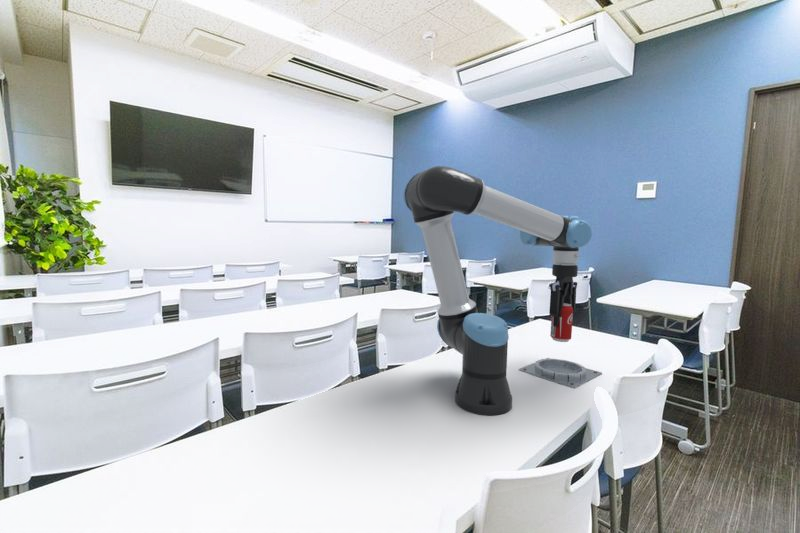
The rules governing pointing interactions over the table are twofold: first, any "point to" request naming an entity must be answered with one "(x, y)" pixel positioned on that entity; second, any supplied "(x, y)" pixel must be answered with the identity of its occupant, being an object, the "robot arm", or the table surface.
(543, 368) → the duct flange
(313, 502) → the table surface
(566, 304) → the beverage can
